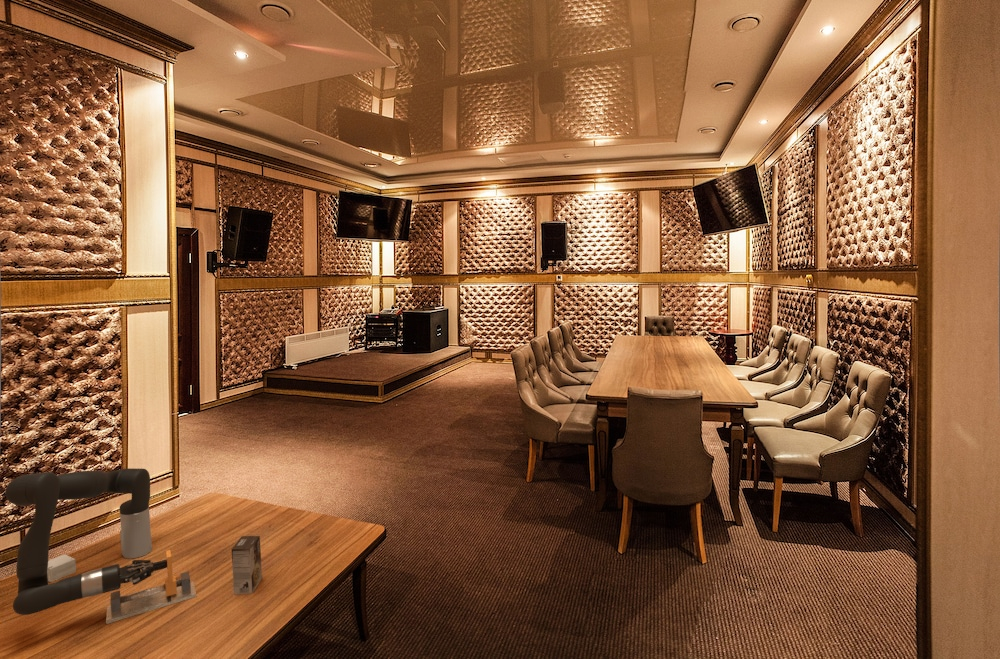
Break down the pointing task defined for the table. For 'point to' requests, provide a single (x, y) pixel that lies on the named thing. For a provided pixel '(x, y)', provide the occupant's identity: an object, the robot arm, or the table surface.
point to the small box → (60, 567)
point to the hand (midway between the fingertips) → (167, 563)
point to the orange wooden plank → (170, 577)
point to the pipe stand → (148, 599)
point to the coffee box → (246, 564)
